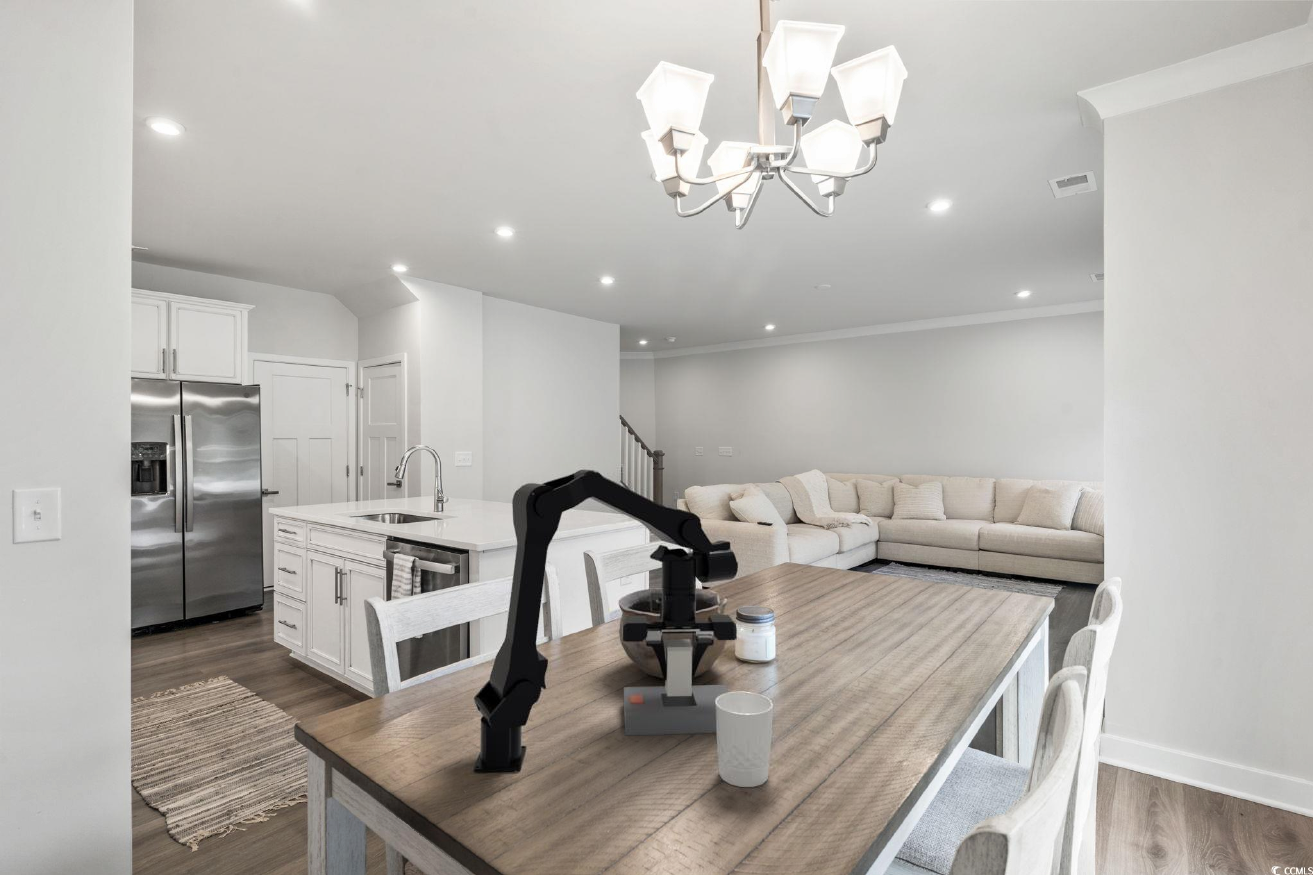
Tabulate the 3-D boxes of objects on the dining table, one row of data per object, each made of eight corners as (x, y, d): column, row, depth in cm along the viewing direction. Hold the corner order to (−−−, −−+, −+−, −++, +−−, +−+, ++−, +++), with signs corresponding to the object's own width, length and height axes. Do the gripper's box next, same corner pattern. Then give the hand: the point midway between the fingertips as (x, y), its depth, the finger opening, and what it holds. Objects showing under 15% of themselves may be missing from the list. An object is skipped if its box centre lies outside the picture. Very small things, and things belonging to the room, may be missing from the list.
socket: (739, 732, 101) (739, 711, 101) (625, 735, 100) (625, 714, 100) (725, 701, 113) (725, 683, 113) (623, 704, 112) (623, 685, 112)
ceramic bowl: (733, 694, 116) (734, 612, 117) (614, 694, 116) (615, 611, 117) (720, 654, 139) (720, 585, 139) (620, 654, 139) (621, 585, 139)
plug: (689, 686, 109) (689, 639, 109) (692, 696, 105) (692, 647, 105) (664, 686, 108) (664, 639, 109) (666, 696, 104) (667, 647, 104)
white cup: (734, 755, 94) (734, 687, 94) (783, 773, 89) (783, 700, 89) (703, 776, 87) (703, 703, 88) (753, 797, 82) (753, 719, 83)
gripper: (725, 575, 115) (725, 662, 115) (622, 576, 114) (621, 664, 114) (737, 589, 104) (737, 685, 104) (623, 590, 103) (622, 687, 103)
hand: (678, 679), depth 107 cm, fingers closed on plug, 4 cm apart
